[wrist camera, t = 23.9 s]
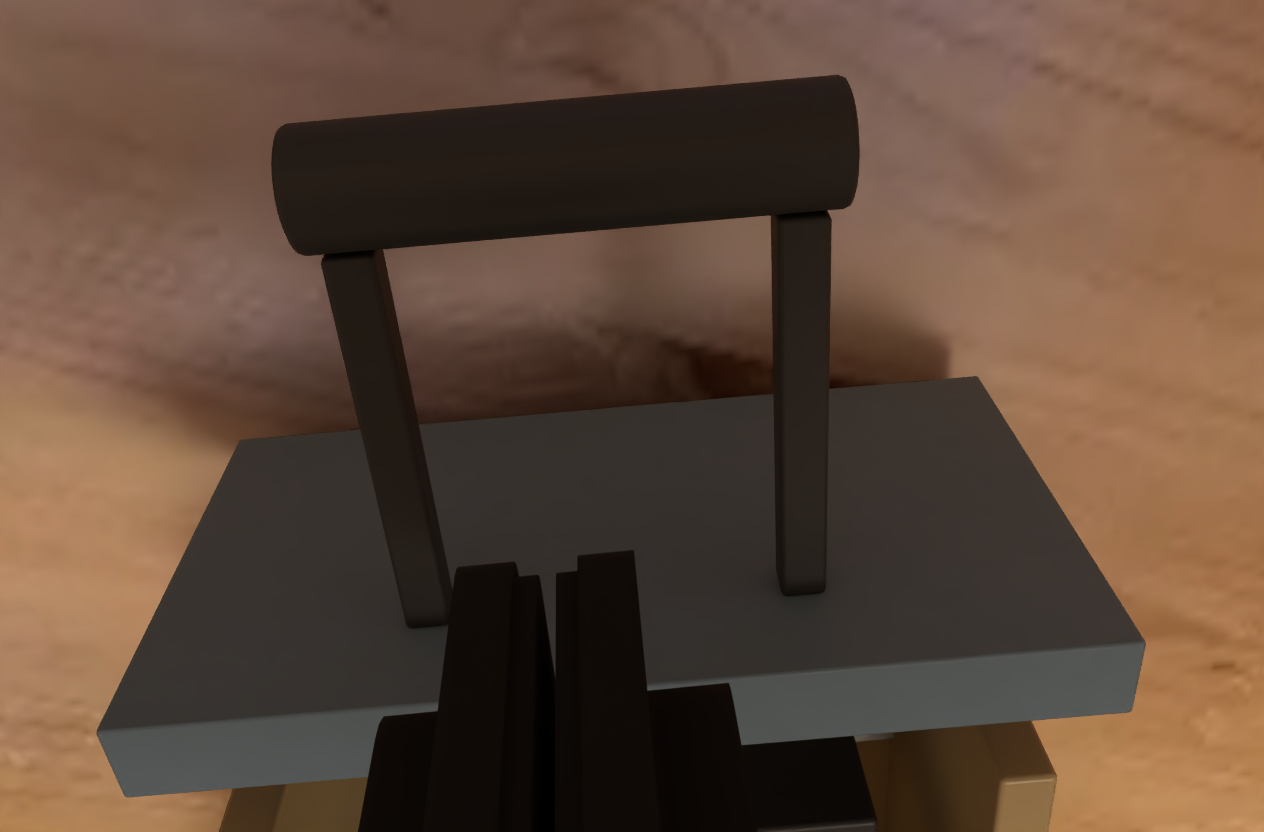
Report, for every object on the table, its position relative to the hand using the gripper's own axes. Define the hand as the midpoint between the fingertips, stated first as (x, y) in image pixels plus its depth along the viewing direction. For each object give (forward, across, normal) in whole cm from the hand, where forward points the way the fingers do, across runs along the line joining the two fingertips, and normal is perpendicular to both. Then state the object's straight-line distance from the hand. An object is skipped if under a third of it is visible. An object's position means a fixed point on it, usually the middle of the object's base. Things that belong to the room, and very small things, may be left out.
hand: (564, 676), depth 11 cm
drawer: (+9, -1, +5) cm, 10 cm away
